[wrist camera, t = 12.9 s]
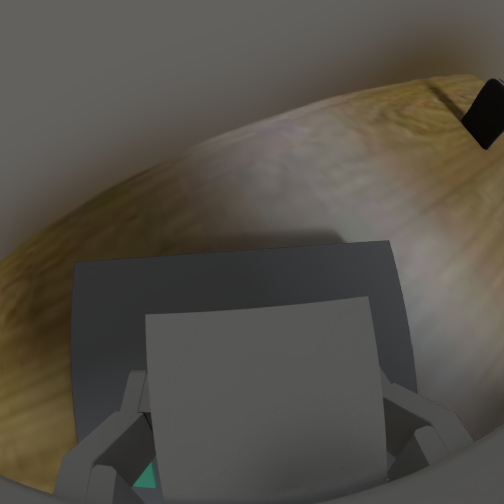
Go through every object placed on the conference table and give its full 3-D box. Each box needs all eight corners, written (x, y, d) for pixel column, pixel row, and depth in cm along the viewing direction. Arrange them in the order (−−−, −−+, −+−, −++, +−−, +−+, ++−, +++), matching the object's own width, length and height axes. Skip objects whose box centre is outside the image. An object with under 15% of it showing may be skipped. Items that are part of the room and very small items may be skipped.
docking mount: (365, 262, 27) (391, 238, 22) (391, 453, 20) (423, 466, 15) (99, 282, 24) (72, 260, 20) (112, 481, 18) (87, 501, 13)
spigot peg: (276, 348, 16) (368, 296, 5) (283, 416, 15) (386, 492, 4) (204, 354, 16) (145, 314, 5) (210, 423, 15) (169, 524, 3)
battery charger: (493, 148, 36) (528, 106, 26) (485, 152, 35) (523, 107, 25) (467, 117, 38) (498, 73, 28) (458, 120, 37) (490, 72, 27)
